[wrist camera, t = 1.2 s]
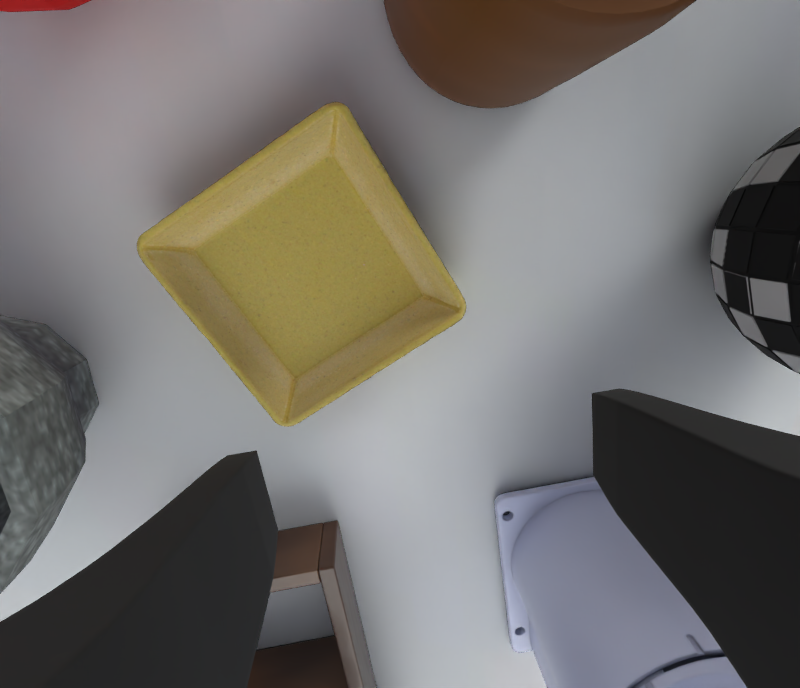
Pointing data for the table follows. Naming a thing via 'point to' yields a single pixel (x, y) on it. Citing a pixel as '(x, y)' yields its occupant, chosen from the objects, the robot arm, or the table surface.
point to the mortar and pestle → (38, 435)
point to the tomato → (39, 5)
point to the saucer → (305, 267)
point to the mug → (516, 42)
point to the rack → (346, 651)
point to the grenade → (763, 253)
